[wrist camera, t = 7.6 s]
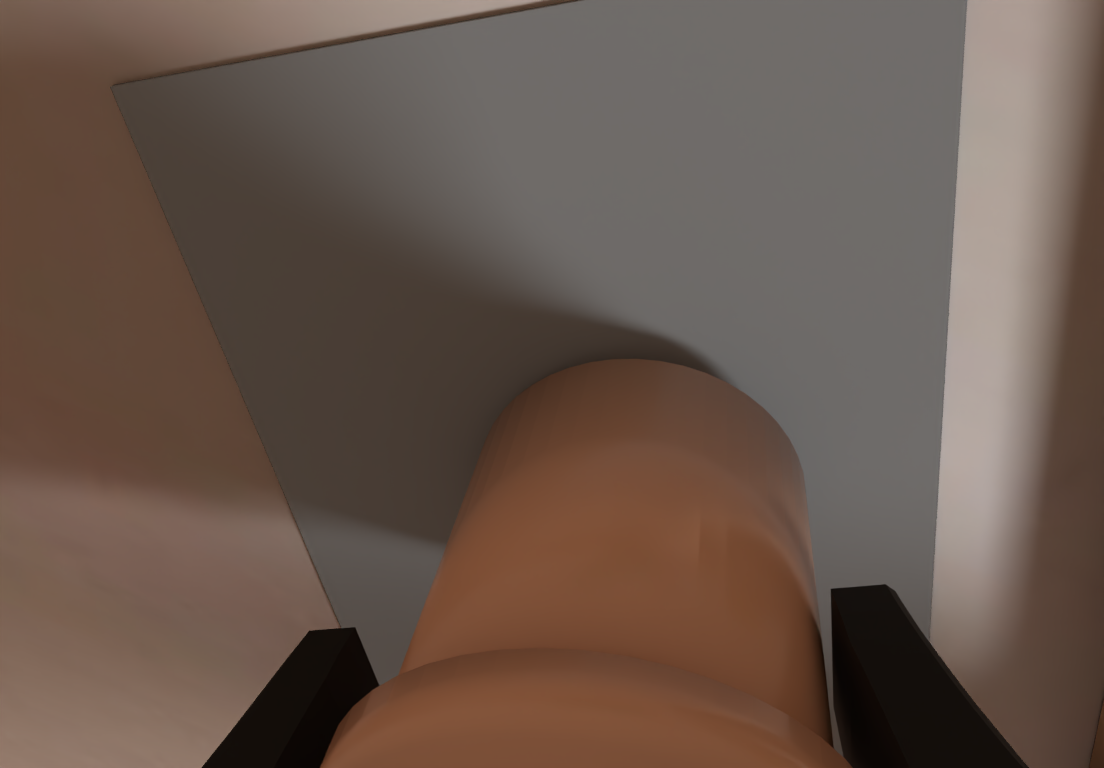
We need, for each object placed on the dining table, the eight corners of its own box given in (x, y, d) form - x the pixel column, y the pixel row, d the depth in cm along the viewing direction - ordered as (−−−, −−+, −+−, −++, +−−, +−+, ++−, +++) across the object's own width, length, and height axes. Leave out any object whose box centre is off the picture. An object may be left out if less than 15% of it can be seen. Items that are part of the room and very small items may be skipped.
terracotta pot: (838, 626, 14) (898, 1082, 9) (498, 626, 15) (389, 1024, 10) (830, 315, 11) (912, 742, 6) (410, 350, 12) (200, 722, 7)
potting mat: (918, 743, 17) (922, 757, 17) (411, 771, 18) (408, 784, 18) (961, -74, 10) (971, -71, 9) (121, 81, 11) (109, 86, 11)
